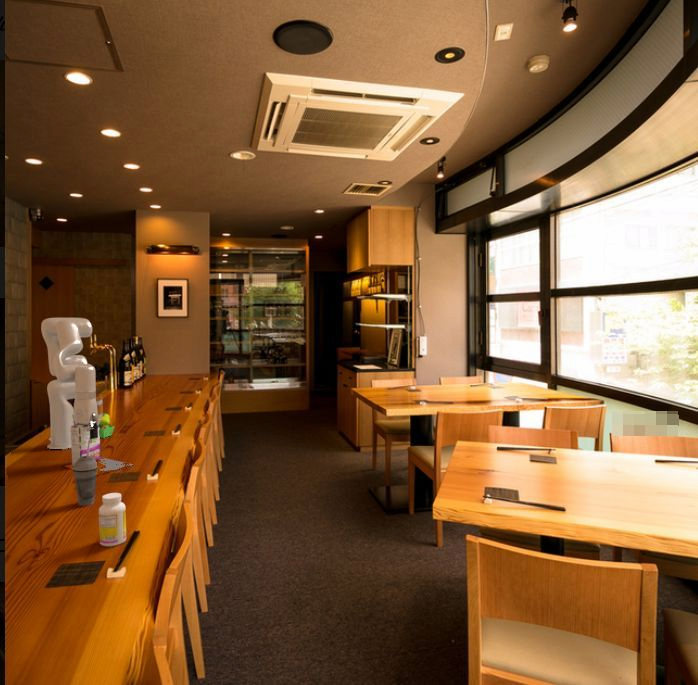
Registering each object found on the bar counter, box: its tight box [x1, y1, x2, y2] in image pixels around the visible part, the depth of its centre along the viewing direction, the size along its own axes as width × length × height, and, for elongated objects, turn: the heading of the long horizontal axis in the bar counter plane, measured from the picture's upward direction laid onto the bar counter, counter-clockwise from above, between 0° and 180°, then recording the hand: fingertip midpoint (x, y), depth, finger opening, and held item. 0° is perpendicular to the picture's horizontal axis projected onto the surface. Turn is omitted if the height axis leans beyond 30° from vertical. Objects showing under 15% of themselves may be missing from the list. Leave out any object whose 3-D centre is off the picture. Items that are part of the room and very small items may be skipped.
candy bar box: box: [70, 424, 102, 466], centre depth 214 cm, size 11×5×16 cm, turn 164°
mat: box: [70, 457, 134, 471], centre depth 210 cm, size 24×16×1 cm, turn 60°
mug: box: [96, 394, 104, 418], centre depth 298 cm, size 20×14×15 cm
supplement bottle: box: [98, 492, 127, 547], centre depth 140 cm, size 7×7×13 cm
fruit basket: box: [100, 413, 115, 439], centre depth 261 cm, size 11×9×11 cm
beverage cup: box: [72, 443, 98, 507], centre depth 168 cm, size 7×7×20 cm
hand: (86, 437), depth 213 cm, fingers open, 9 cm apart
